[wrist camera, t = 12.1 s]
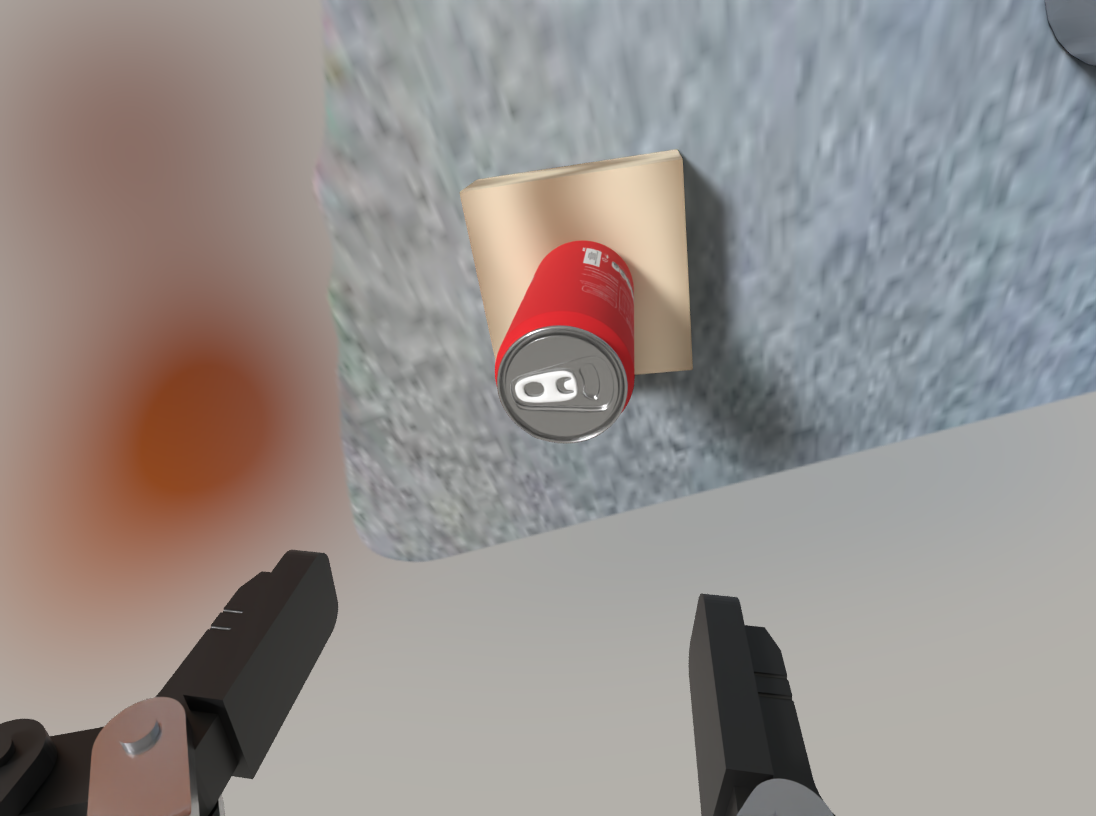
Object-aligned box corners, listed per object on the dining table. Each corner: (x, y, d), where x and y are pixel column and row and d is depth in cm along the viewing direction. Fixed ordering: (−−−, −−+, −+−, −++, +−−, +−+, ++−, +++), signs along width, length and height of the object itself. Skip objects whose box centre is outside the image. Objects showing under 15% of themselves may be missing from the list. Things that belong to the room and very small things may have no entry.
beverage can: (639, 323, 33) (643, 441, 22) (546, 336, 34) (508, 456, 23) (626, 226, 30) (623, 309, 20) (526, 244, 31) (473, 331, 21)
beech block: (677, 149, 32) (682, 159, 29) (687, 341, 37) (692, 369, 34) (477, 179, 34) (459, 192, 31) (512, 358, 39) (501, 386, 36)
